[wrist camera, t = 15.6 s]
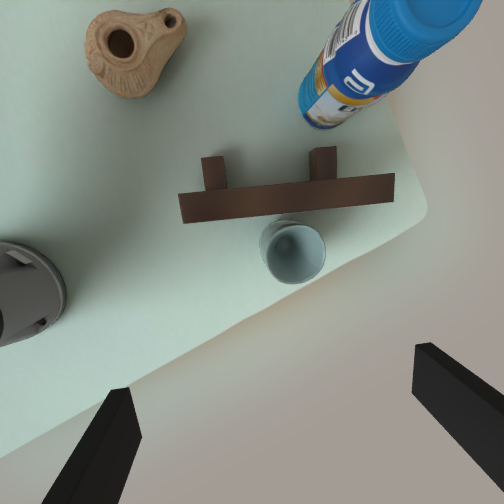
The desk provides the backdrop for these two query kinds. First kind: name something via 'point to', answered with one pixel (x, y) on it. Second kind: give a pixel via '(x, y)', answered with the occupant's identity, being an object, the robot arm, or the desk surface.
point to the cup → (292, 251)
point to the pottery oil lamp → (132, 48)
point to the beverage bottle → (376, 54)
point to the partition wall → (283, 192)
